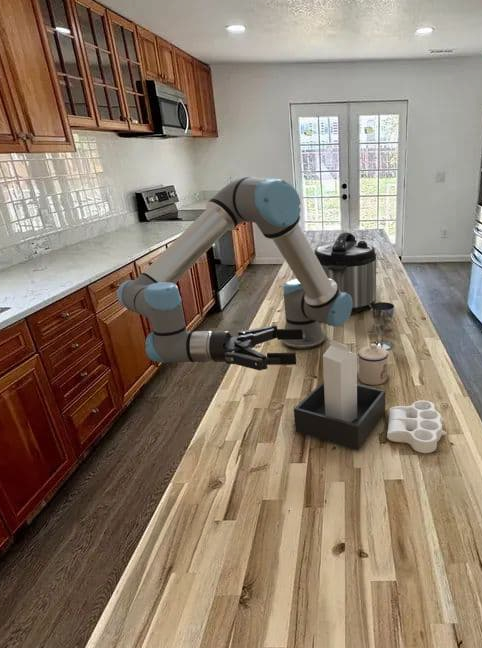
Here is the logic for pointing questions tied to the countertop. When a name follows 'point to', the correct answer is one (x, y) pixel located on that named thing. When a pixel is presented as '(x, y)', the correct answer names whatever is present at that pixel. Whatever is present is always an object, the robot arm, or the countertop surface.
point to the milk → (340, 382)
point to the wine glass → (382, 319)
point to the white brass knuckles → (416, 426)
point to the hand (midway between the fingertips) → (299, 345)
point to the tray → (336, 430)
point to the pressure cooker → (351, 269)
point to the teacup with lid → (373, 365)
